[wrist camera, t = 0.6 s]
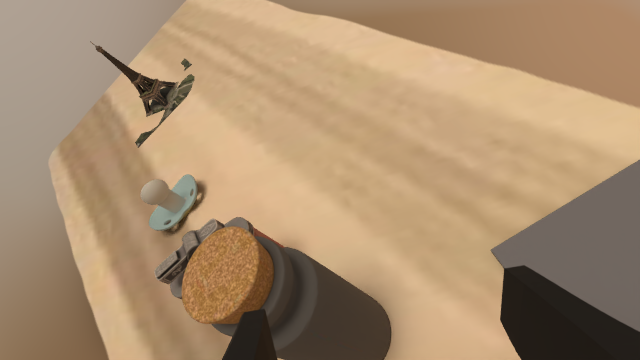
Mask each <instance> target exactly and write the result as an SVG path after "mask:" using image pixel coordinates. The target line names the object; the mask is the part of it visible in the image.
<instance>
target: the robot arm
mask: <svg viewBox="0 0 640 360" xmlns="http://www.w3.org/2000/svg"><path fill="white" fill-rule="evenodd" d="M500 320H501V322H502V325H503V327H504V329H505V331H506V333H507V335H508V337H509V339H510V341H511V342H512V344H513V346H514V348H515V350H516V352H517V353H518V355H519V357H520V358H521V360H640V332H639V331H637V330H635V329H633V328H632V327H630V326H628V325H626V324H624V323H622V322H620V321H618V320H617V319H615V318H613V317H611V316H609V315H608V314H606V313H604V312H602V311H600V310H599V309H597V308H595V307H593V306H592V305H590V304H588V303H587V302H585V301H583V300H582V299H580V298H578V297H577V296H575V295H573V294H572V293H570V292H568V291H567V290H565V289H563V288H562V287H560V286H558V285H557V284H555V283H553V282H552V281H550V280H549V279H547V278H545V277H544V276H542V275H540V274H539V273H537V272H535V271H534V270H532V269H530V268H529V267H527V266H525V265H522V266H516V267H510V268H504V279H503V291H502V304H501V317H500ZM222 360H277V355H276V351H275V347H274V343H273V339H272V335H271V331H270V327H269V323H268V319H267V315H266V311H265V309H260V310H254V311H248V312H244V313H243V314H242V316H241V318H240V320H239V323H238V325H237V328H236V330H235V333H234V335H233V337H232V339H231V342H230V344H229V346H228V348H227V350H226V352H225V354H224V356H223V358H222Z"/></svg>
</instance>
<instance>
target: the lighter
mask: <svg viewBox="0 0 640 360" xmlns="http://www.w3.org/2000/svg"><path fill="white" fill-rule="evenodd" d="M231 226H235V227H241V228H244V229H246V230H247V231H249V232H250V233H251V234H252V235H253V236H260V237H264V238H267V239H269V240H271V241H273V242H275V243H276V244H278V245H279V246H280V247H281V248H284V246H282V245H280V244H279V243H277V242H276V241H274V240H273V239H271V238H269V237H268V236H266V235H265V234H263V233H261V232H260V231H258V230H257V229H255V228H254V227H253V225H252V224H251V223H250V222H248V221H247V220H245V219H244V218H241V217H236V218H234V219H232V220H231V221H229V222H228V223H226V224H225V225H224V224H222V223H221V222H219V221H217V220H215V219H211V220H209V221H208V222H207V223H206V224H205V225H204V226H203V227H202V228H201V229H199V230H196V231H190V232H188V233H186V234H185V235H184V236H183V238H182V241H183V245H182V246H181V247H180V248H179V249H178V250H176V251H174V252H173V253H172V254H171V255H170V256H169V257H168V258H166V259H165V260H164V261H163V262H162V263H161V264H160V265H159V266H158V267H157V268H156V269H155V276H156V279H157V280H158V281H161V282H164V283H167V284H170V283H171V284H170V288H171V292H172V294H173V295H174V296H175V297H177V298H180V299H182V282H183V277H184V273H185V270H186V267H187V265H188V262H189V260H190V259H191V257H192V255H193V253H194V252H195V251H196V249H197V248H198V247H199V245H200V244H201V243H202V242H203V241H204V240H205V239H206V238H207V237H208V236H210V235H211V234H213V233H214V232H216V231H218V230H220V229H222V228H225V227H231ZM287 248H288V247H287Z"/></svg>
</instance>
